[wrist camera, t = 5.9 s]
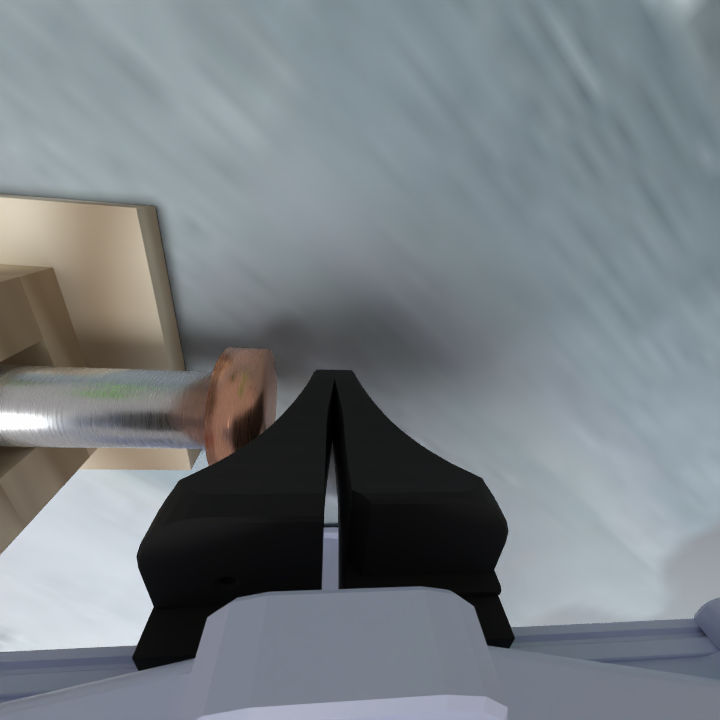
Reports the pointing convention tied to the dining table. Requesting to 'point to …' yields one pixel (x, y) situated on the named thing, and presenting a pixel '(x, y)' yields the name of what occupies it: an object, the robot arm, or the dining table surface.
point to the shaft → (141, 405)
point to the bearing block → (80, 326)
